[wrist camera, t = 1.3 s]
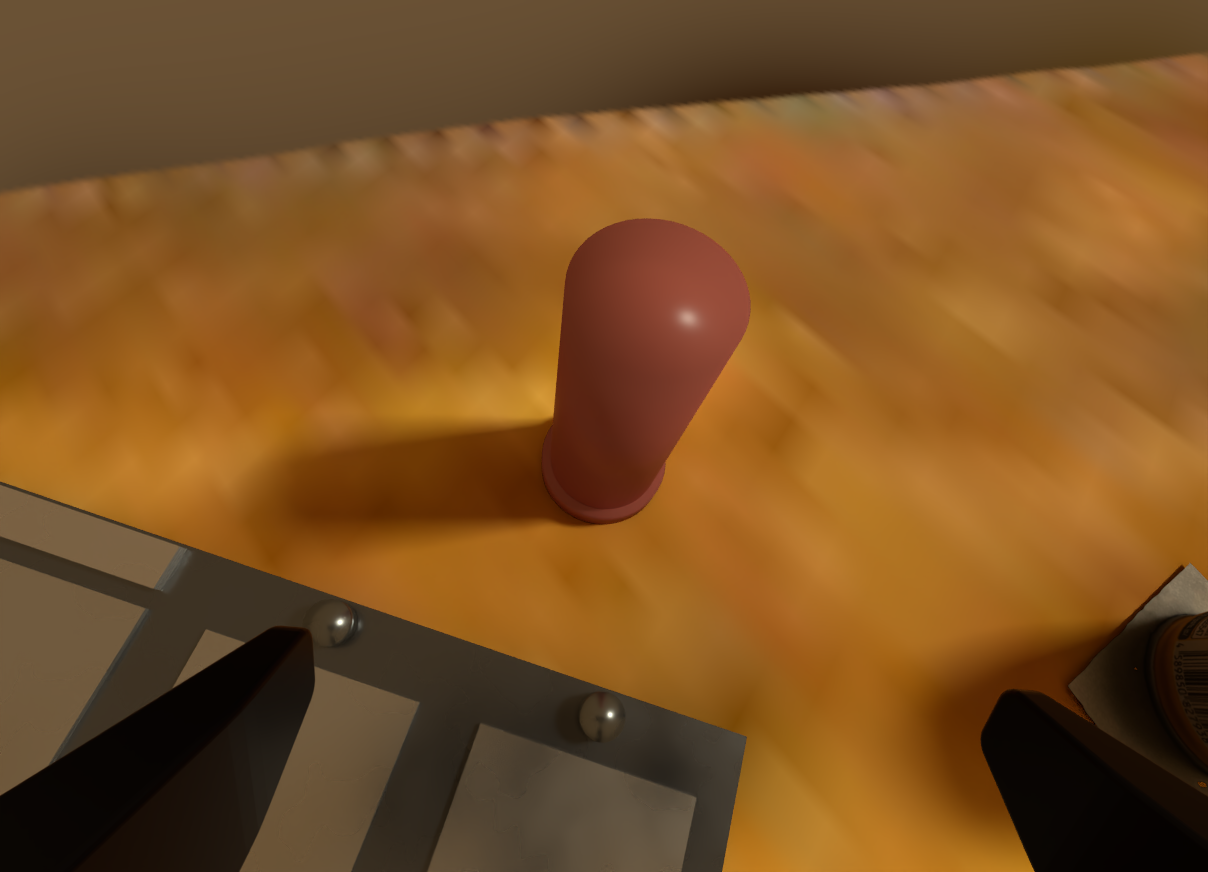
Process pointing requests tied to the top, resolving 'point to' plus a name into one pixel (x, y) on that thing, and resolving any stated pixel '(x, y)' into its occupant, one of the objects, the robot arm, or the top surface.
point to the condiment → (1157, 681)
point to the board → (354, 715)
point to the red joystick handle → (636, 360)
